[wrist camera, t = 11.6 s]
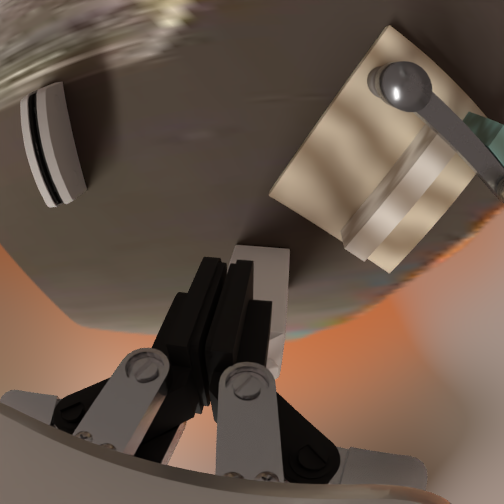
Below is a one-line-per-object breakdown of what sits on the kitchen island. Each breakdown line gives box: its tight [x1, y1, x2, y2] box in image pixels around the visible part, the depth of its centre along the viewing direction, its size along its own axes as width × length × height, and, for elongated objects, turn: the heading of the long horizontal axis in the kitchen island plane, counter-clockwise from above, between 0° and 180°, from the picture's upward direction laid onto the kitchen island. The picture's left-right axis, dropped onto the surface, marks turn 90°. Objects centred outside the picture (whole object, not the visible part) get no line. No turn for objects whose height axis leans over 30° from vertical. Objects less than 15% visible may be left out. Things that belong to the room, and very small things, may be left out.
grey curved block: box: [20, 82, 87, 207], centre depth 33 cm, size 17×5×10 cm, turn 7°
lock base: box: [269, 25, 504, 273], centre depth 29 cm, size 24×19×9 cm
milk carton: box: [227, 245, 290, 380], centre depth 36 cm, size 7×7×19 cm
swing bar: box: [375, 61, 504, 203], centre depth 22 cm, size 18×4×6 cm, turn 60°
